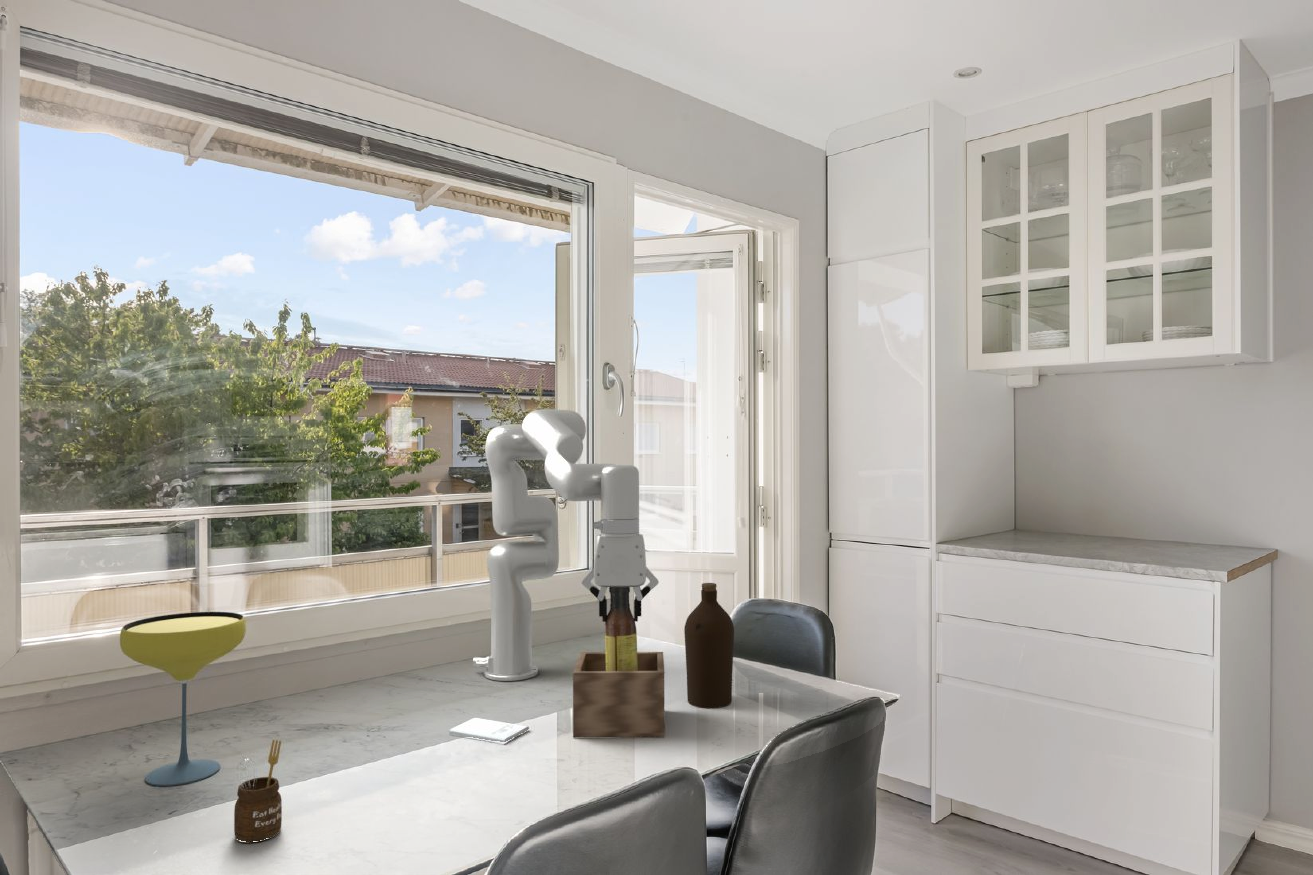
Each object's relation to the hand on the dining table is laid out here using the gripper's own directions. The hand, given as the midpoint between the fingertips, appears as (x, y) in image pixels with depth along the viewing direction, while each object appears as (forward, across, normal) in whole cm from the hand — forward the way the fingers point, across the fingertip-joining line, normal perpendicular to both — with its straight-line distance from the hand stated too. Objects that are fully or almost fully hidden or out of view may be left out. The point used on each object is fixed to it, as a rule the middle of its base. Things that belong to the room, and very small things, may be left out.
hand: (620, 619), depth 160 cm
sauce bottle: (+13, 0, 0) cm, 13 cm away
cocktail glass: (+20, -72, -24) cm, 78 cm away
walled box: (+20, 0, 0) cm, 20 cm away
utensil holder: (+21, -48, -46) cm, 70 cm away
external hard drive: (+21, -25, -5) cm, 33 cm away
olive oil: (+20, +18, +14) cm, 31 cm away
